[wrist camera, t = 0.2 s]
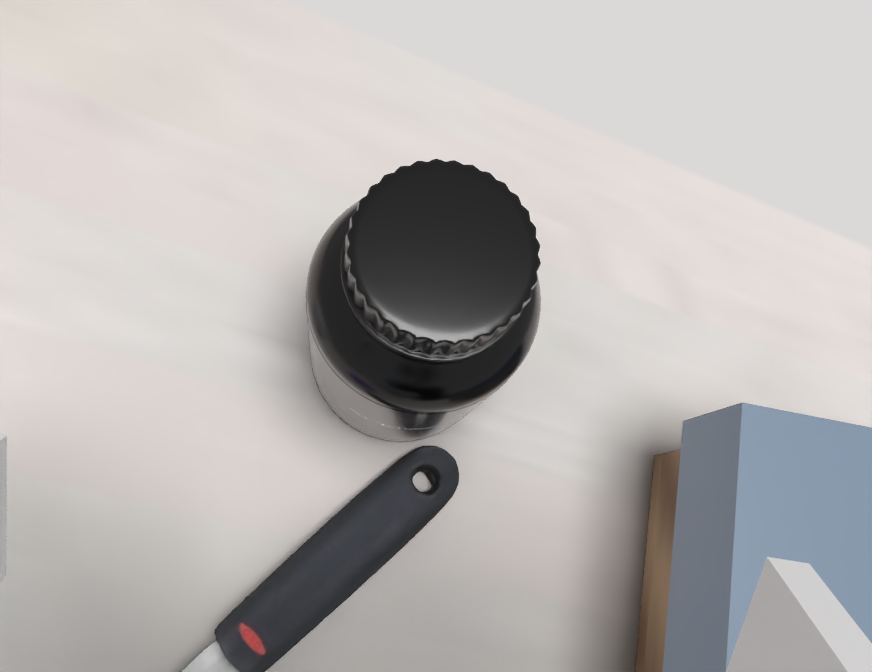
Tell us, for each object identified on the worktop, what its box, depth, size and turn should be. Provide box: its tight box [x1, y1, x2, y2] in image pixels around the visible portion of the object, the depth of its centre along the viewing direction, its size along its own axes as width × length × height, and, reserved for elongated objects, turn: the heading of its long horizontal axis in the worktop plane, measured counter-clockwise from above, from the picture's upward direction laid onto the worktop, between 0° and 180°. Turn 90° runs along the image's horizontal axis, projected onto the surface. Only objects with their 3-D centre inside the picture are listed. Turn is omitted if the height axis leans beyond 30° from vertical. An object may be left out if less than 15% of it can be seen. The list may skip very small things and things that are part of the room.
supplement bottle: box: [306, 159, 541, 441], centre depth 24 cm, size 7×7×12 cm
